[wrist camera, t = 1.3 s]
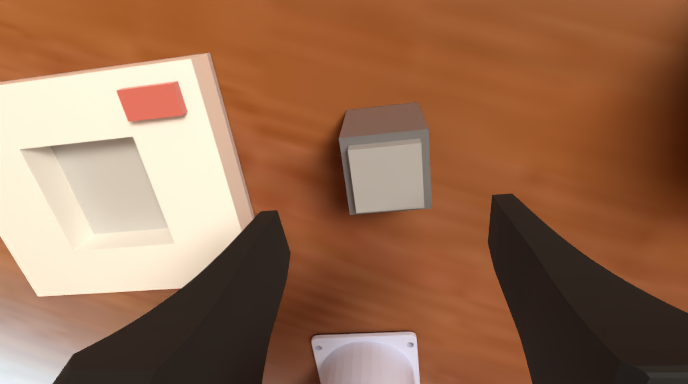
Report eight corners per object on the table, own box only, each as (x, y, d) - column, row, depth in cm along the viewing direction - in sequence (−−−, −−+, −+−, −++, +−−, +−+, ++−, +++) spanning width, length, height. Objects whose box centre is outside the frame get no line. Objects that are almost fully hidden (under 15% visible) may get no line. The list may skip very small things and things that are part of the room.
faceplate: (266, 261, 27) (254, 290, 24) (62, 274, 29) (31, 302, 26) (209, 52, 21) (185, 60, 18) (-43, 87, 23) (-99, 99, 20)
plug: (421, 168, 23) (433, 214, 18) (355, 174, 24) (349, 220, 19) (418, 101, 21) (430, 133, 16) (346, 109, 22) (337, 142, 17)
